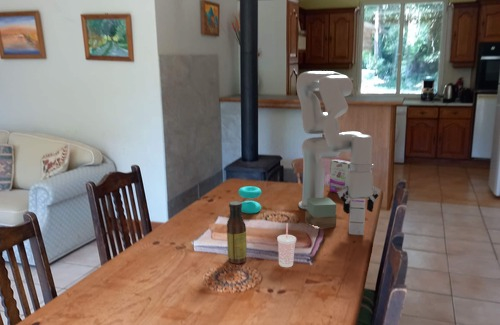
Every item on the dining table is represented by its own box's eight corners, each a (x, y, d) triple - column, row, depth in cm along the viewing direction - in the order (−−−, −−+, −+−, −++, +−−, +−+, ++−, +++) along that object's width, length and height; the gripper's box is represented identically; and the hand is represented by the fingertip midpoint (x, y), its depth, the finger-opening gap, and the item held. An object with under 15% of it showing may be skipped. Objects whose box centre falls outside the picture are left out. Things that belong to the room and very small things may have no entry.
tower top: (307, 209, 180) (307, 198, 179) (328, 208, 181) (328, 197, 180) (313, 217, 171) (313, 205, 170) (335, 216, 173) (336, 204, 172)
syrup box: (363, 235, 166) (366, 199, 163) (347, 234, 167) (350, 197, 164) (363, 230, 172) (365, 194, 168) (347, 228, 173) (350, 193, 170)
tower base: (304, 222, 180) (305, 210, 179) (323, 219, 183) (324, 208, 182) (316, 230, 172) (317, 218, 171) (335, 226, 175) (336, 215, 174)
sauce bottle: (249, 258, 146) (250, 201, 142) (242, 266, 141) (243, 207, 136) (231, 255, 148) (231, 198, 144) (224, 262, 143) (223, 204, 138)
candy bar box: (353, 194, 218) (355, 162, 214) (347, 196, 214) (349, 163, 210) (334, 189, 226) (336, 158, 222) (328, 191, 222) (330, 159, 218)
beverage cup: (283, 269, 138) (285, 228, 135) (272, 262, 143) (273, 222, 140) (299, 265, 141) (300, 224, 138) (287, 258, 146) (289, 218, 143)
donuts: (237, 191, 186) (239, 185, 196) (237, 213, 188) (239, 206, 198) (260, 192, 185) (262, 185, 195) (260, 214, 187) (261, 207, 197)
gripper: (376, 164, 169) (373, 207, 173) (334, 166, 165) (332, 210, 169) (386, 168, 162) (383, 213, 166) (343, 171, 158) (341, 216, 161)
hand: (358, 211), depth 167 cm, fingers open, 9 cm apart
